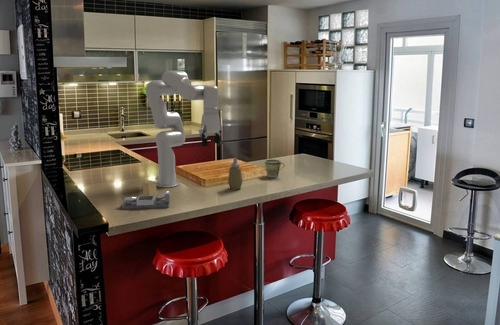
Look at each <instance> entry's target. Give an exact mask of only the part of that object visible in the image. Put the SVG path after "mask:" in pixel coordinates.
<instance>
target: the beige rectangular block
mask: <svg viewBox="0 0 500 325" xmlns="http://www.w3.org/2000/svg"><path fill="white" fill-rule="evenodd" d="M156 183H157V181H155V180H145V181H142V196H152V195H155V197H156V196H158V194H157V192H158V191H157V185H156Z"/></svg>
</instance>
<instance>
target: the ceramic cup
mask: <svg viewBox="0 0 500 325" xmlns="http://www.w3.org/2000/svg"><path fill="white" fill-rule="evenodd" d="M264 164H265V165H264V166H265V170H266V176H267V177H268V178H273V177H274V178H278V177H279V173H280V171H281V170H282V169H283V168H284V167H285V162H281V160H280V159H275V158H274V159H271V158H270V159H265V160H264ZM281 165H283V166H282V167H281ZM280 167H281V168H280ZM274 178H273V179H274Z"/></svg>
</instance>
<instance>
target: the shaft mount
mask: <svg viewBox="0 0 500 325" xmlns="http://www.w3.org/2000/svg"><path fill="white" fill-rule="evenodd" d="M122 198H123V202H122V205H121V210H122V211H123V210H143V209H144V210H148V209H168V208H169V206H170V203H171V193H170V191H169V190H167V191H165V192H163V193H161V194H157V196H156V197H155V195H152V196H143V195H138V196H127V197H126V196H123V197H122Z"/></svg>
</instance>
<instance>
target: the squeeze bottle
mask: <svg viewBox="0 0 500 325" xmlns="http://www.w3.org/2000/svg"><path fill="white" fill-rule="evenodd" d="M242 175H243V173H242V167H240V163H238V159H237V157H233V162H232V163H231V164H230V168H229V170H228V180H227V184H228V187H229V189H230V190H233V191H234V190H235V191H237V190H240V189H241V188H242V185H243V176H242Z"/></svg>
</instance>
